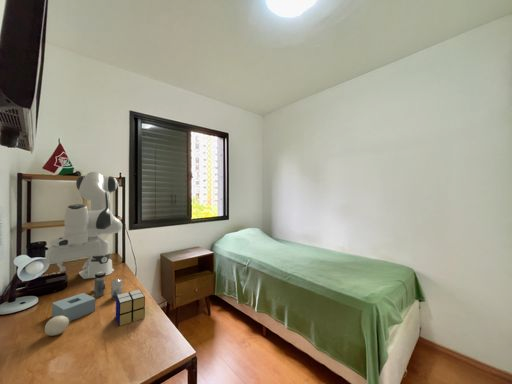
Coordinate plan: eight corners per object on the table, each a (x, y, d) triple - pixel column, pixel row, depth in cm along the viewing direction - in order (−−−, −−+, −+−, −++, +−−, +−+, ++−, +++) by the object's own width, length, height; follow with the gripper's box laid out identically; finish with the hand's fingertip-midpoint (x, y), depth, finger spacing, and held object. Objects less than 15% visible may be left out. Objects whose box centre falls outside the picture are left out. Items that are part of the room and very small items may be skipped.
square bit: (94, 296, 117) (94, 279, 118) (100, 294, 120) (101, 278, 120) (97, 297, 116) (97, 281, 116) (103, 295, 119) (104, 279, 119)
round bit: (109, 297, 116) (109, 281, 116) (118, 294, 120) (119, 278, 120) (114, 300, 114) (114, 282, 114) (123, 296, 118) (124, 280, 118)
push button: (91, 292, 122) (91, 275, 122) (91, 289, 126) (92, 272, 126) (105, 289, 126) (105, 272, 126) (105, 286, 130) (105, 270, 130)
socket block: (51, 316, 98) (52, 302, 98) (83, 304, 108) (83, 292, 108) (63, 323, 92) (63, 309, 92) (95, 310, 102) (95, 298, 103)
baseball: (73, 329, 88) (73, 313, 88) (51, 341, 81) (51, 323, 81) (62, 326, 90) (63, 310, 90) (40, 337, 83) (41, 319, 83)
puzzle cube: (115, 316, 98) (116, 294, 98) (139, 309, 104) (140, 288, 105) (118, 327, 90) (119, 303, 90) (144, 318, 97) (145, 296, 97)
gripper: (97, 234, 112) (96, 261, 111) (45, 241, 94) (43, 273, 93) (104, 236, 109) (103, 263, 108) (50, 243, 91) (49, 276, 90)
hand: (75, 268), depth 101 cm, fingers open, 8 cm apart
